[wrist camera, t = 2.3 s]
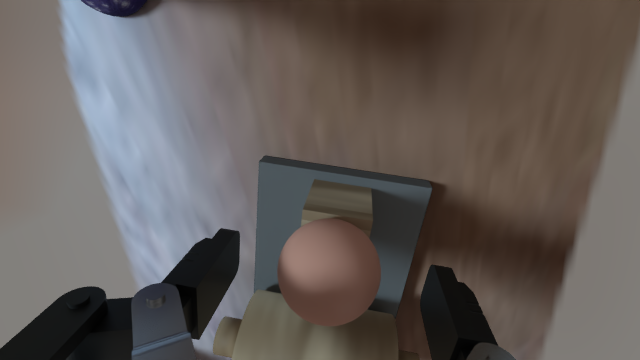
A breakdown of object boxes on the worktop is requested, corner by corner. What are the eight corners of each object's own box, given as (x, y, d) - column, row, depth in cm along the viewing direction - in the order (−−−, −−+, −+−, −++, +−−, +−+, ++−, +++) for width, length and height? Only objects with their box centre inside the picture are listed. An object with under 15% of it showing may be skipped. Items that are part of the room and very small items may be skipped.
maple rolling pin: (237, 330, 22) (199, 416, 17) (238, 265, 20) (194, 341, 15) (399, 361, 21) (411, 462, 16) (419, 298, 19) (440, 391, 14)
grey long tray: (264, 155, 17) (245, 175, 15) (428, 180, 17) (441, 206, 14) (252, 411, 27) (239, 453, 24) (358, 434, 26) (358, 480, 23)
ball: (293, 194, 13) (267, 248, 10) (387, 209, 13) (395, 271, 10) (286, 269, 15) (261, 339, 11) (369, 283, 15) (372, 361, 11)
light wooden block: (316, 172, 17) (302, 209, 13) (370, 180, 17) (373, 221, 13) (311, 218, 19) (296, 265, 15) (361, 227, 18) (361, 277, 14)
